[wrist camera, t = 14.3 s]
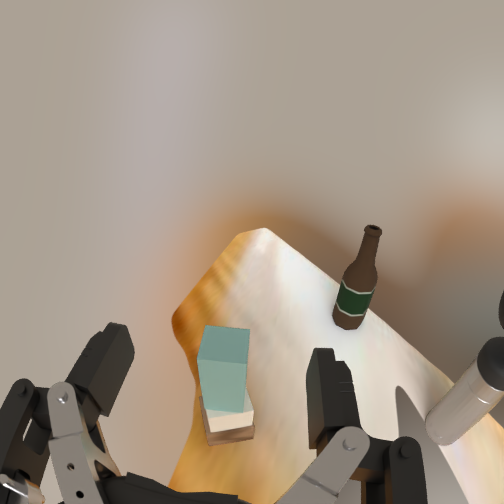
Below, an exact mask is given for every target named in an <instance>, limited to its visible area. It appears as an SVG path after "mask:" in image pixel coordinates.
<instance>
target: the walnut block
mask: <svg viewBox="0 0 504 504" xmlns="http://www.w3.org/2000/svg"><path fill="white" fill-rule="evenodd" d="M199 400H200V405H201V411H202V416H203V421H204V426H205V431H206V436H207V440H208V444H209V446H213V445H221V444H227V443H233V442H239V441H244V440H250V439H253V436H254V429H255V426H254V423H253V421H252V425H251V426H246V427H241V428H235V429H230V430H224V431H218V432H211V431H210V427H209V422H208V418H207V414H206V409H205V408H204V402H203V396H200V397H199Z"/></svg>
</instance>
